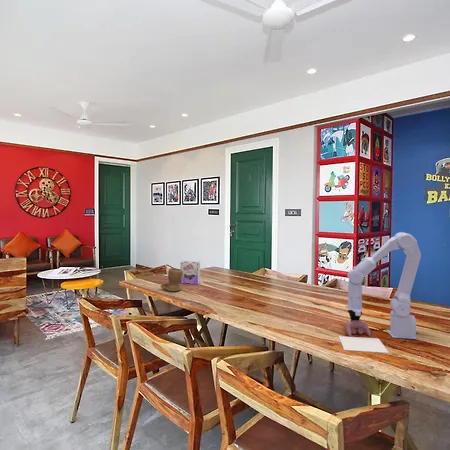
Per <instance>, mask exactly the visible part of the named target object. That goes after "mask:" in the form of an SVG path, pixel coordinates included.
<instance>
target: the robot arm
mask: <svg viewBox="0 0 450 450" xmlns="http://www.w3.org/2000/svg"><path fill="white" fill-rule="evenodd" d="M400 249H401V250H402V251H403V253H404V254H405V255H406V257H405V260H404V263H403V264H404V265H403V268H402V273H401V275H400V279H399V283H398V287H397V290H396V291H395V292H394V295H393V297H392V298H391V299H390V302H389V305H390V307H391V310H390V313H389V314H390V322H389V324H390V327H389V328H390V329H387V330H386V332H387V333H388V334H389V335H390V337H392V338H395V339H410V340H417V339H418V338H417V319H416V316H415V315H413V314H411V312H412V308H411V293H412V289H413V286H414V283H415V279H416V274H417V272H418V269H419V264H420V261H421V257H422V253H421V250H420V247H419V245H418V240H417V239H416V238H415V237H414V236H413V235H412V234H410V233H406V232H404V231H400V232H397V233H395V235H394V236H392V237H390V238H389V239H388V240H387V241H386V242H384V243H383V244H382V245H381V246H380V247H379V249H378V250H377V251H375V253H373V254H372V255H371V256H369V257H368V256H366V257H363V258H362V259H360V260H361V261H360V262H359V263H358V264H357V265H356V266H353V269H350V270H349V271H348V273H347V278H348V286H347V304H346V305H345V306H344V307H345V309H348V310H347V312H348V314H349V318H350V321H352V320H359V321H360V318H361V317H362V315H363V312H362V310H363V286H362V282H363V281H364V278H365V277H367V276H368V275H369V274H370V273H372V271H373V270H375V269H376V268H377V263H378V262H380V260H381V259H383V258H384V257H385V256H387V255H388V254H389V253H390V252H392V251H396V250H400Z"/></svg>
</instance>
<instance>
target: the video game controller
mask: <svg viewBox="0 0 450 450" xmlns="http://www.w3.org/2000/svg"><path fill="white" fill-rule="evenodd" d="M344 327H345V330H346V333H347V335H348V336H347V337H352V335H354V334H356V333H357V334H359V335H362V334H363V333H364V332H365V333H366V335H367V336H368V337H371V336H372V334H371V329H370V328H369V326H368V323H366V321H362V320H360V319H359V320H352V321H351V320H349V321H347V322H346V323H344ZM356 328H357V329H356Z"/></svg>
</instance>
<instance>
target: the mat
mask: <svg viewBox="0 0 450 450" xmlns="http://www.w3.org/2000/svg"><path fill="white" fill-rule="evenodd" d="M338 339H339V341H340V344H341V345H342V347H343V350H344V351H350V352H365V353H381V354H382V353H383V354H390V352H389V350H388V349H387V348H386V346H385V345H384V344H383V342H382V341H381V339H379V338H377V337H376V338H375V337H361V336H358V337H357V336H356V337H355V336H351V337H350V336H343V335H342V336H341V335H339V336H338Z"/></svg>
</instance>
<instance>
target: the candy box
mask: <svg viewBox="0 0 450 450" xmlns="http://www.w3.org/2000/svg"><path fill="white" fill-rule="evenodd" d="M180 269H181V270H182V271H183V275H182V278H181V281H180V284H183V283H190V284H189V285H199V284H201V261H198V260H197V261H194V260H182V261H180Z"/></svg>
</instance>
